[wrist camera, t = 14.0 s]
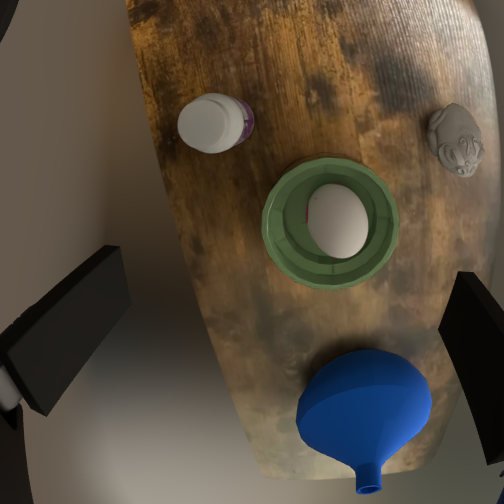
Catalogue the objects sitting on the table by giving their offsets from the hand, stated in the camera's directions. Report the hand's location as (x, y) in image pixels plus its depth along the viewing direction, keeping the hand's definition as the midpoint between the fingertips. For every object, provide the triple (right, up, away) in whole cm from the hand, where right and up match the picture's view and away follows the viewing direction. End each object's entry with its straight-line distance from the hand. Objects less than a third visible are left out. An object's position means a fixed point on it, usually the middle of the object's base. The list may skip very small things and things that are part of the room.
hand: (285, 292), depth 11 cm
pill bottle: (-3, +15, +20) cm, 25 cm away
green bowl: (+7, +6, +22) cm, 24 cm away
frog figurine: (+19, +14, +16) cm, 29 cm away
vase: (+15, -17, +31) cm, 38 cm away
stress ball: (+7, +6, +22) cm, 23 cm away
